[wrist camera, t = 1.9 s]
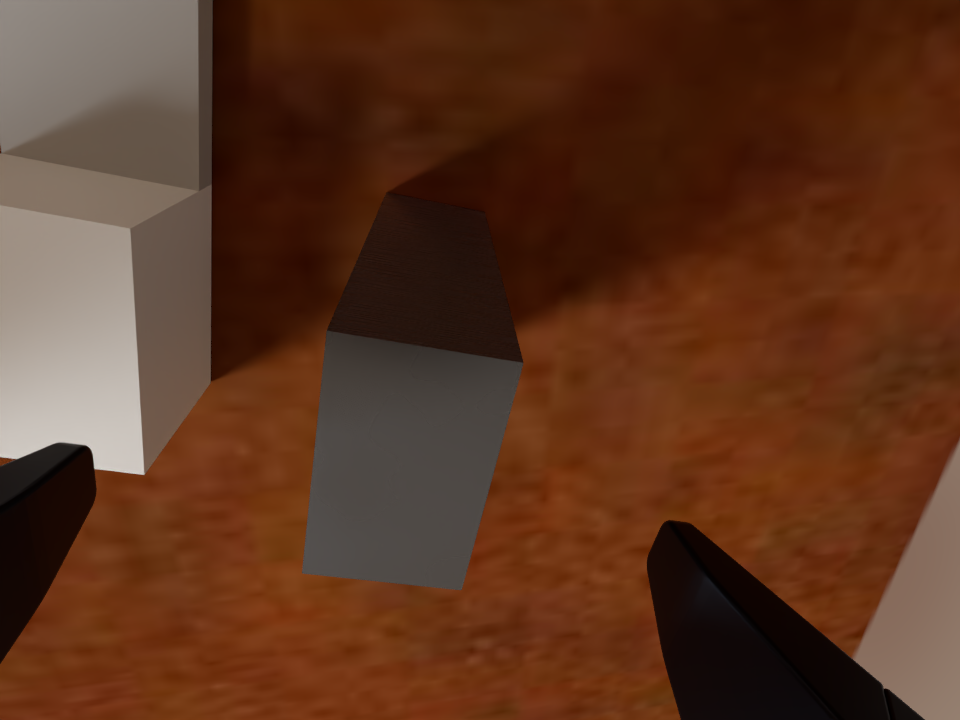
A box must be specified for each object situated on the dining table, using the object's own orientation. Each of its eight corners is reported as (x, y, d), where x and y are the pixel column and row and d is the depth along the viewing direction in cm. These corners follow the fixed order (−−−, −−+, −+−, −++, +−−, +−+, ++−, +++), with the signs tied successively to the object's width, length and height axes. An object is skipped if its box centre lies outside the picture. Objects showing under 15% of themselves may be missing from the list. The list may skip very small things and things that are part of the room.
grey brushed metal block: (454, 355, 20) (461, 590, 11) (366, 341, 20) (302, 573, 11) (484, 211, 18) (523, 362, 9) (386, 192, 18) (326, 330, 9)
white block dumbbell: (210, 382, 20) (144, 474, 16) (53, 359, 19) (-64, 449, 15) (214, -508, 11) (66, -874, 7) (-74, -610, 11) (-445, -1088, 6)
